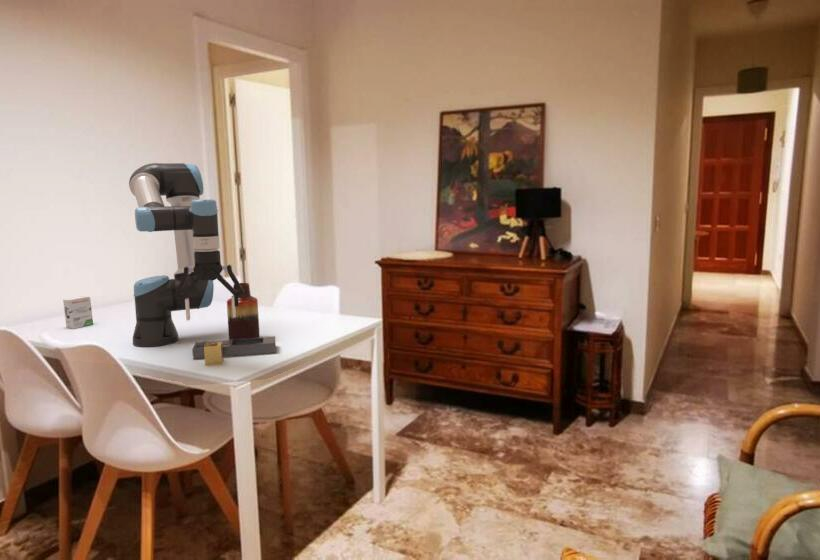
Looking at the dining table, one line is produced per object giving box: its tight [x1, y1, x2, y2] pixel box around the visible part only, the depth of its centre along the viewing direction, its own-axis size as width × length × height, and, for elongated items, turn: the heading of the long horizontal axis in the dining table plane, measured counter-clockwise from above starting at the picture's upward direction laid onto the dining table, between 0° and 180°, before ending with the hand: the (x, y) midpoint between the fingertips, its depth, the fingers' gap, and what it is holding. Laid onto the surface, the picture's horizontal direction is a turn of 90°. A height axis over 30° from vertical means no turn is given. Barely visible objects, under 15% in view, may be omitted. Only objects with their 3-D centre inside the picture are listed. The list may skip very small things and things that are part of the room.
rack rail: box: [192, 335, 277, 360], centre depth 192 cm, size 26×9×4 cm, turn 104°
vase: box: [226, 282, 260, 340], centre depth 208 cm, size 11×11×20 cm
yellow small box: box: [204, 340, 224, 367], centre depth 181 cm, size 5×5×7 cm
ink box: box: [63, 296, 94, 330], centre depth 232 cm, size 9×5×12 cm, turn 148°
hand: (211, 318), depth 179 cm, fingers open, 13 cm apart
